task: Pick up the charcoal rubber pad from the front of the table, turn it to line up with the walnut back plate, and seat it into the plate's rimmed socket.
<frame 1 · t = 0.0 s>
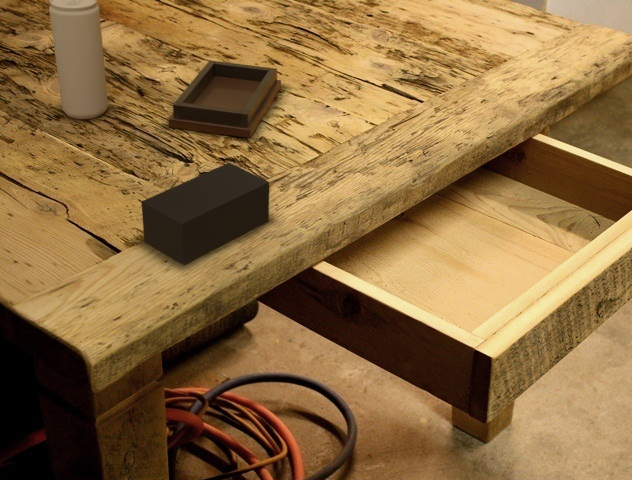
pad: (208, 231, 81), on the table
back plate: (227, 106, 102), on the table
beverage can: (85, 113, 99), on the table
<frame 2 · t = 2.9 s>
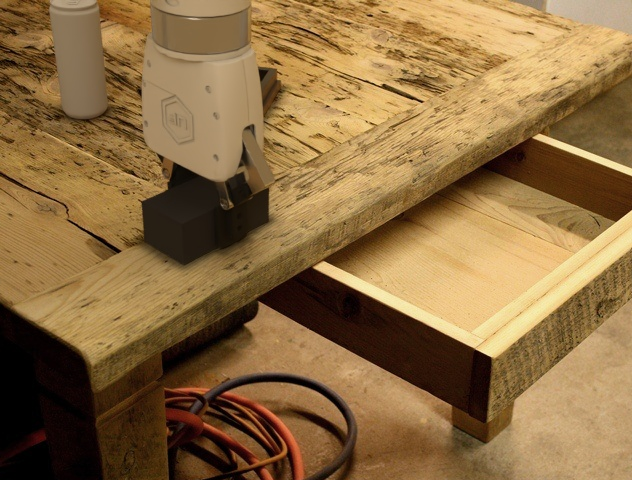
hand: (208, 227, 80), 0 cm above the table, tool pointing down, fingers closed on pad, 5 cm apart
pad: (208, 231, 81), on the table, touching gripper
everything else where it was.
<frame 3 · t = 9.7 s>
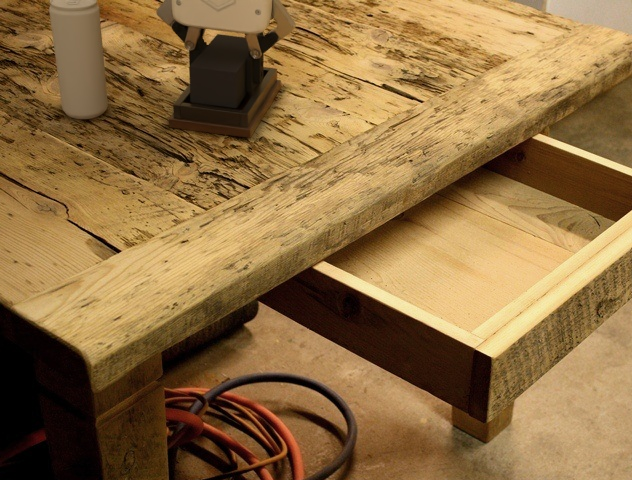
hand: (226, 83, 100), 3 cm above the table, tool pointing down, fingers closed on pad, 5 cm apart
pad: (226, 87, 101), point 2 cm above the table, touching gripper
everything else where it was.
when the fingers open (3 cm above the table, at t = 14.3 s): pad drops 1 cm, resting on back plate.
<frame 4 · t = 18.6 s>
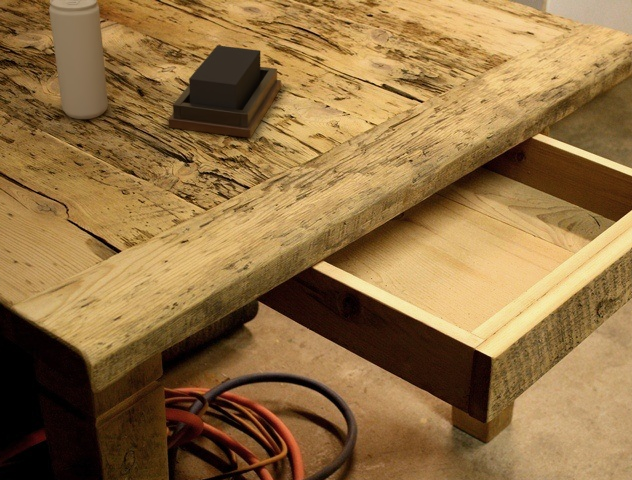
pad: (226, 98, 101), point 1 cm above the table, touching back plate
everything else where it was.
at the end: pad 0.1 cm off-centre on the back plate, point 1.0 cm above the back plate's base; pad tilted 0°; the gripper is holding nothing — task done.
